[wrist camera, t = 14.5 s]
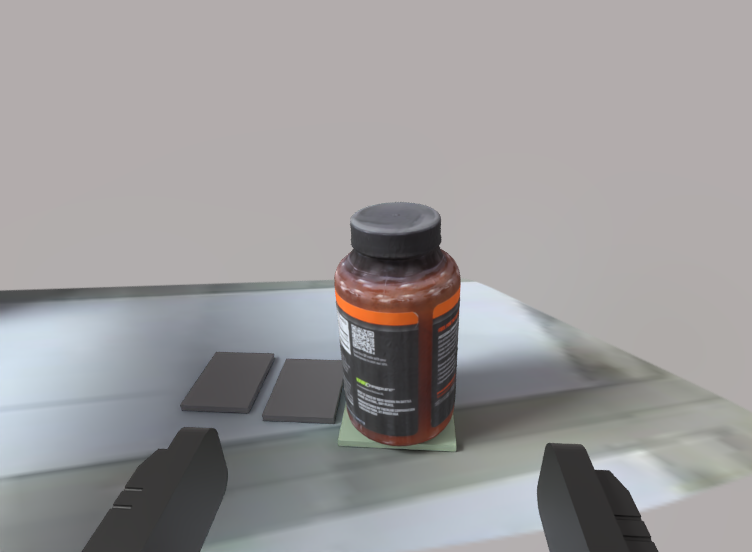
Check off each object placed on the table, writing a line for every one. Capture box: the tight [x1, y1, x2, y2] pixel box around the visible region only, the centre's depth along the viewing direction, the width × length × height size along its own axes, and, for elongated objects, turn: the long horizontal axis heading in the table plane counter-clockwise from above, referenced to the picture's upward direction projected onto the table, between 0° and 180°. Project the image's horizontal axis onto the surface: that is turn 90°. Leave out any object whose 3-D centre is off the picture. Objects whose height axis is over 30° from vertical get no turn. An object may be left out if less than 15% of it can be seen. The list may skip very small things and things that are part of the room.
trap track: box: [180, 352, 456, 452], centre depth 26 cm, size 16×7×1 cm, turn 85°
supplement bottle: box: [334, 202, 461, 447], centre depth 22 cm, size 6×6×11 cm
